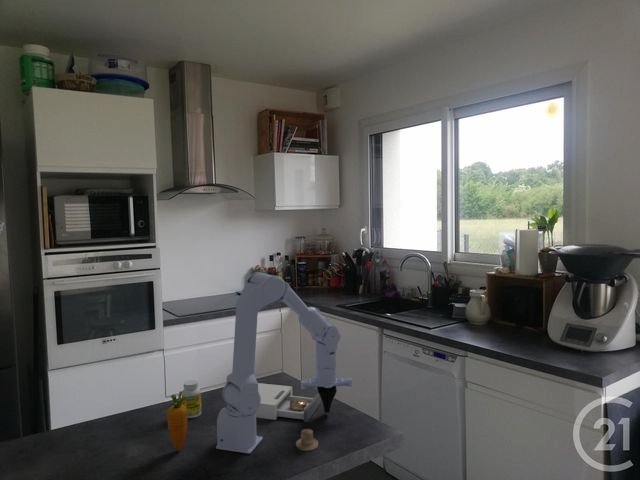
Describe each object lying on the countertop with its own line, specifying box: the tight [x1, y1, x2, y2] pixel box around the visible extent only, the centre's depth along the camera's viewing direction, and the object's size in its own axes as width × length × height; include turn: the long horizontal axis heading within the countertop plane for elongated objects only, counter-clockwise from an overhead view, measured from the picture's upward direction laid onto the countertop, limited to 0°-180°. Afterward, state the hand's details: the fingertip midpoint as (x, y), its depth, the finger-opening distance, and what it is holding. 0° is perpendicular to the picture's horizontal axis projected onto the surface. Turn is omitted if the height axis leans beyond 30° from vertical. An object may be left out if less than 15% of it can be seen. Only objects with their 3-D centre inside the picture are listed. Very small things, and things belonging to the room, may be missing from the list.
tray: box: [277, 392, 322, 423], centre depth 139 cm, size 13×13×3 cm
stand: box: [295, 428, 319, 452], centre depth 119 cm, size 6×6×4 cm
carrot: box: [166, 390, 189, 452], centre depth 117 cm, size 5×5×15 cm
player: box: [256, 382, 293, 421], centre depth 142 cm, size 14×14×4 cm
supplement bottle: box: [181, 379, 203, 419], centre depth 138 cm, size 5×5×10 cm
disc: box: [290, 399, 307, 411], centre depth 139 cm, size 5×5×2 cm
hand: (326, 411), depth 137 cm, fingers closed
